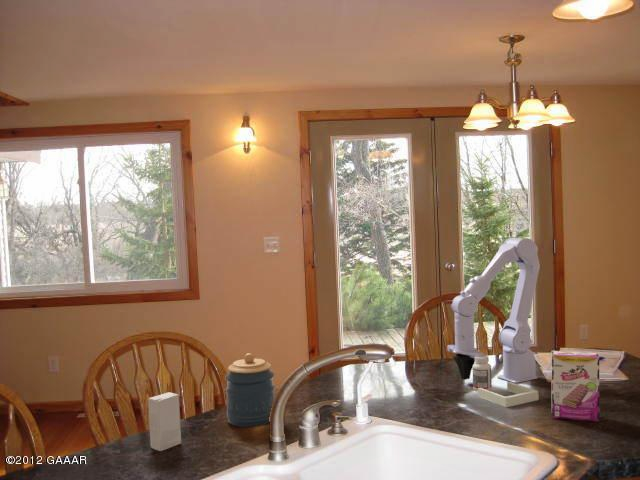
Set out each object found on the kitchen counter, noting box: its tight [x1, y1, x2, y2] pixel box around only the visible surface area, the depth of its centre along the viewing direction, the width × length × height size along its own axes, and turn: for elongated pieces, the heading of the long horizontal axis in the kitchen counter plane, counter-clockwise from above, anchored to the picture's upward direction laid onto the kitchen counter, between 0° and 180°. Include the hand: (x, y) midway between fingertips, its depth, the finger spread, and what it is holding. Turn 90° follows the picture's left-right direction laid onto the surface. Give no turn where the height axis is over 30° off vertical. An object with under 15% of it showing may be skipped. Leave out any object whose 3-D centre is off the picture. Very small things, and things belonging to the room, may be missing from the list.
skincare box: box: [147, 391, 182, 452], centre depth 144 cm, size 6×4×12 cm
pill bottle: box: [472, 354, 493, 392], centre depth 180 cm, size 5×5×10 cm
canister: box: [224, 352, 276, 428], centre depth 160 cm, size 13×13×18 cm
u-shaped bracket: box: [477, 381, 540, 408], centre depth 171 cm, size 12×11×2 cm
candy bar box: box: [550, 350, 600, 423], centre depth 153 cm, size 11×5×16 cm, turn 71°
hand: (465, 378), depth 187 cm, fingers closed
